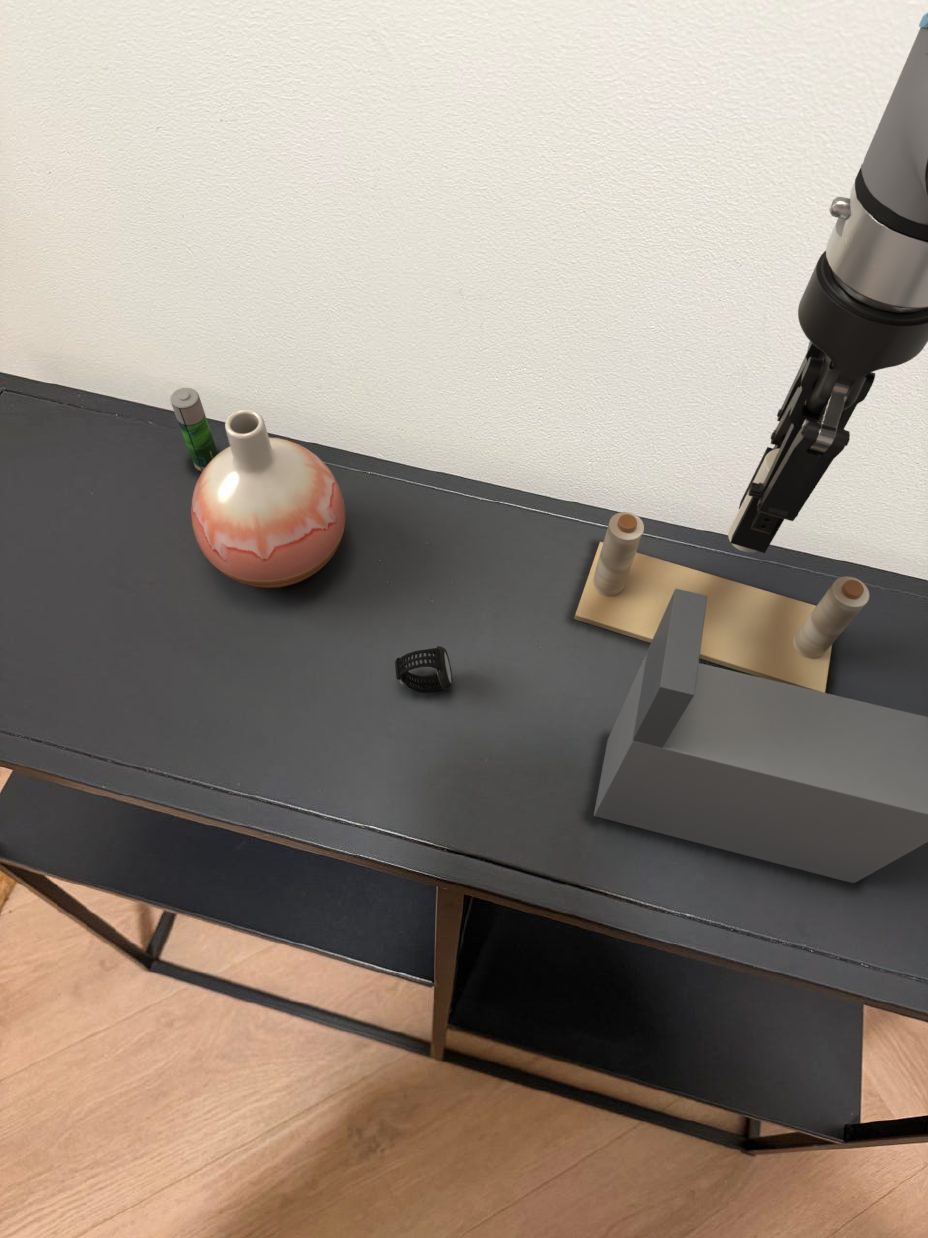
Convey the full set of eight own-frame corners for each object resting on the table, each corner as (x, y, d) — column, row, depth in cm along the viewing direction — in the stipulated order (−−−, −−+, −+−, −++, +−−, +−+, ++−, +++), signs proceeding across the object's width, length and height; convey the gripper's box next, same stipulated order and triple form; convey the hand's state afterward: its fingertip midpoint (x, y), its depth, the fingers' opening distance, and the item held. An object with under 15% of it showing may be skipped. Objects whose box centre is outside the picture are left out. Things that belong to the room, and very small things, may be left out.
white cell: (772, 539, 68) (818, 459, 60) (749, 559, 67) (792, 480, 59) (743, 516, 69) (784, 435, 61) (720, 535, 68) (759, 455, 60)
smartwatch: (447, 708, 73) (447, 683, 69) (391, 693, 74) (388, 667, 69) (460, 668, 75) (461, 641, 71) (405, 654, 76) (403, 626, 71)
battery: (216, 449, 88) (192, 381, 79) (224, 467, 86) (201, 399, 78) (191, 458, 87) (164, 390, 79) (199, 476, 86) (173, 409, 78)
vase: (189, 600, 78) (129, 475, 63) (232, 487, 85) (188, 351, 70) (332, 622, 77) (306, 501, 62) (364, 506, 84) (348, 373, 69)
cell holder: (833, 616, 79) (884, 552, 70) (821, 697, 75) (873, 639, 66) (598, 546, 82) (618, 476, 74) (574, 619, 78) (591, 555, 69)
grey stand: (855, 801, 70) (1030, 668, 49) (854, 884, 66) (1041, 778, 46) (607, 739, 72) (675, 587, 51) (593, 816, 68) (659, 686, 48)
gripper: (837, 177, 51) (724, 443, 71) (800, 347, 43) (685, 592, 63) (964, 205, 50) (812, 467, 70) (950, 385, 42) (784, 622, 62)
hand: (752, 526), depth 67 cm, fingers closed on white cell, 3 cm apart
